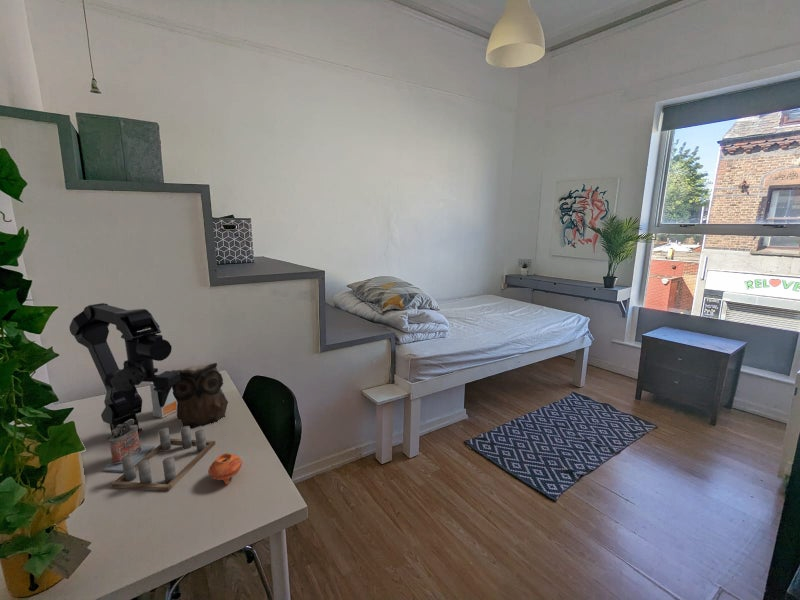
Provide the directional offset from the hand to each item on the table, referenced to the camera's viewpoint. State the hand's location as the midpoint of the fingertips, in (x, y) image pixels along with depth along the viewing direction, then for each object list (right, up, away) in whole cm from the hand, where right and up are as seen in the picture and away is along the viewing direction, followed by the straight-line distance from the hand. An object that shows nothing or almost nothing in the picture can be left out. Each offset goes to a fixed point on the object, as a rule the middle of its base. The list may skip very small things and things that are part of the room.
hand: (147, 406), depth 106 cm
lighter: (-3, -13, -3) cm, 14 cm away
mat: (-3, -14, -3) cm, 14 cm away
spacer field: (+9, -14, -5) cm, 18 cm away
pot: (+28, -16, -10) cm, 34 cm away
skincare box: (-8, -9, +22) cm, 25 cm away
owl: (+7, -10, +19) cm, 22 cm away
